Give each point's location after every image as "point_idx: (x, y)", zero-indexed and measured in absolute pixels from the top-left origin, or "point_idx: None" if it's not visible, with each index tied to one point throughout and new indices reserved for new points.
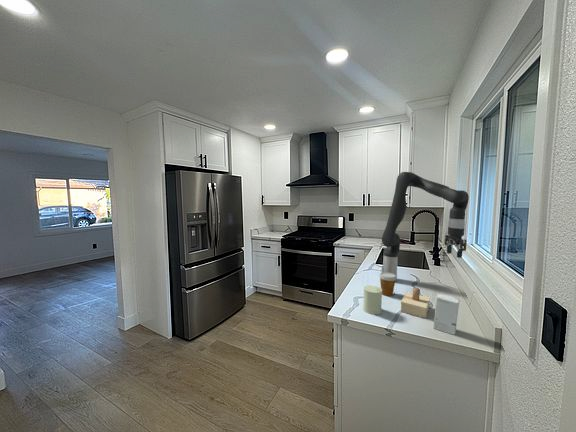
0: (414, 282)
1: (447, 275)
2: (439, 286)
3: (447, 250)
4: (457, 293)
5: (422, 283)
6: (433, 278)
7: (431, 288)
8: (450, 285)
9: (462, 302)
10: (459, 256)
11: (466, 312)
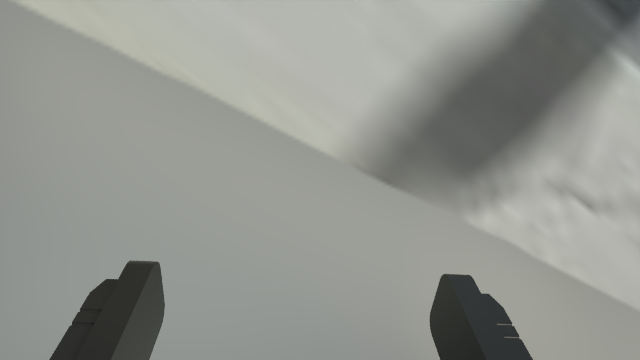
0: (633, 3)
1: (628, 295)
2: (507, 143)
3: (472, 314)
4: (388, 179)
5: (591, 57)
6: (629, 192)
7: (494, 65)
8: (500, 217)
9: (265, 119)
10: (97, 291)
11: (126, 42)
